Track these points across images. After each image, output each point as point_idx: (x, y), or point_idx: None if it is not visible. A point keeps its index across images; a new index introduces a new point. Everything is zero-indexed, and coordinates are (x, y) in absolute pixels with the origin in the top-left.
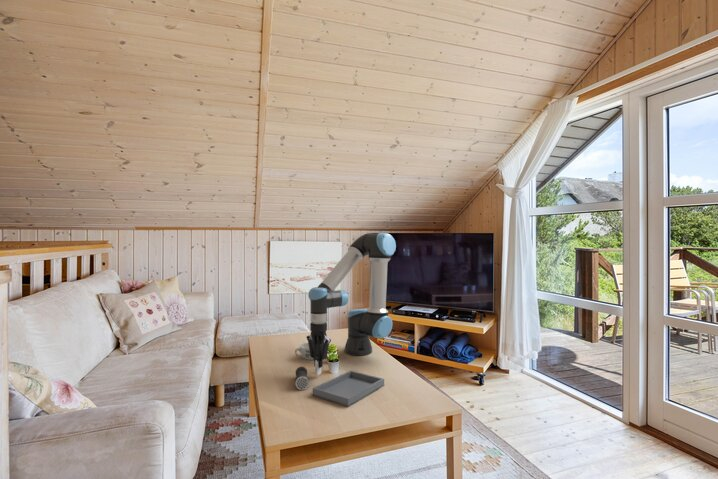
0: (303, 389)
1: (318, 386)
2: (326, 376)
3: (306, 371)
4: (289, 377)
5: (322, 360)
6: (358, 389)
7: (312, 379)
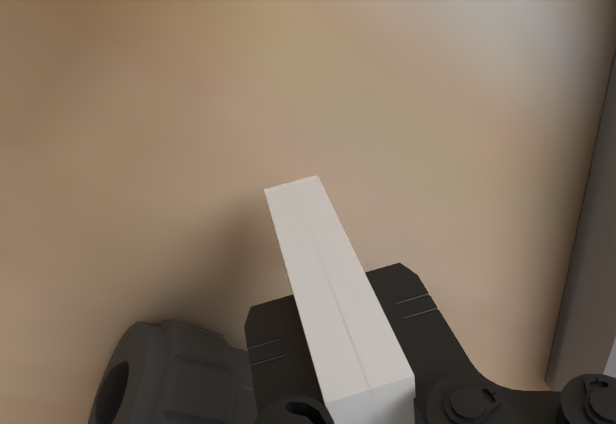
0: None
1: None
2: (309, 45)
3: (235, 395)
4: (32, 411)
5: (477, 374)
6: None
7: (267, 255)
